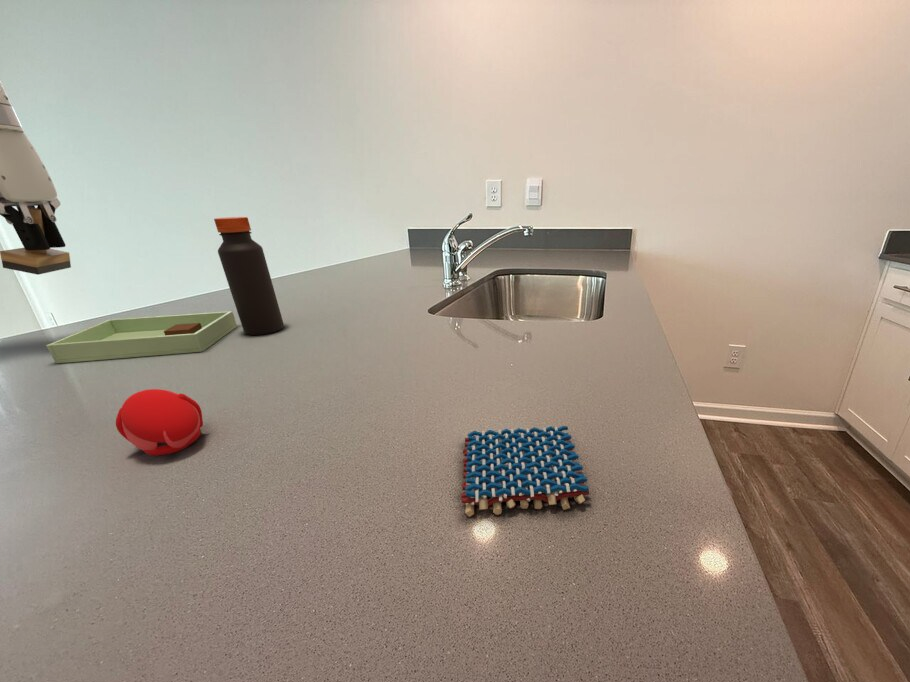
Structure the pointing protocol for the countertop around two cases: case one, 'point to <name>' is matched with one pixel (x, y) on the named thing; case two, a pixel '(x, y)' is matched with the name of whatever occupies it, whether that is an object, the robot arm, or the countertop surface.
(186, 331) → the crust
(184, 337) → the tray
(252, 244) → the bottle
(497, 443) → the woven mat
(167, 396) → the cap
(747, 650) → the countertop surface
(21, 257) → the brush
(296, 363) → the countertop surface
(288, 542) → the countertop surface
